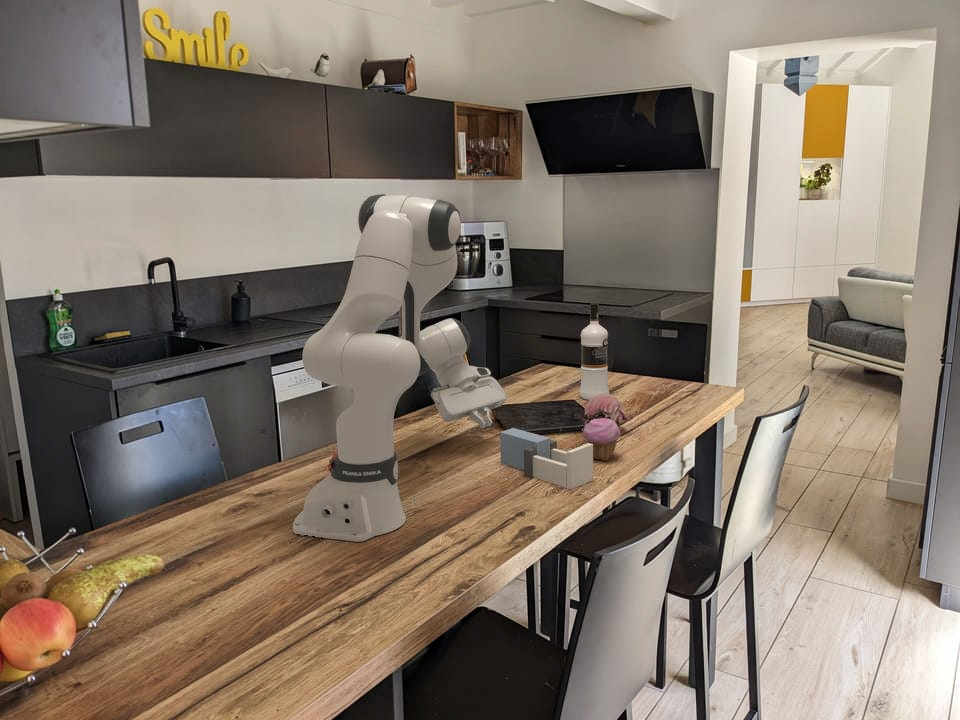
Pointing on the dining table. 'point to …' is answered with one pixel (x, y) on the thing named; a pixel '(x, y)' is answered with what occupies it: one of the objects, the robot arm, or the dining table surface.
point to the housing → (561, 465)
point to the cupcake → (602, 437)
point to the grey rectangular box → (521, 446)
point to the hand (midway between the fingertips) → (487, 425)
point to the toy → (604, 409)
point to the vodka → (594, 357)
